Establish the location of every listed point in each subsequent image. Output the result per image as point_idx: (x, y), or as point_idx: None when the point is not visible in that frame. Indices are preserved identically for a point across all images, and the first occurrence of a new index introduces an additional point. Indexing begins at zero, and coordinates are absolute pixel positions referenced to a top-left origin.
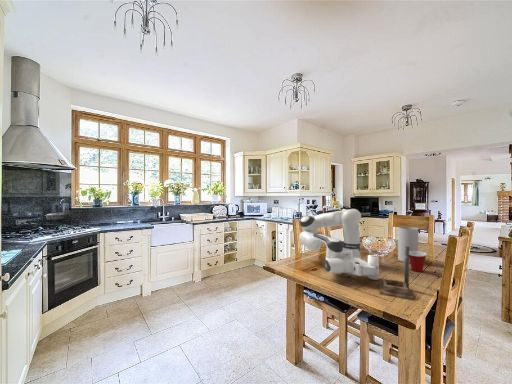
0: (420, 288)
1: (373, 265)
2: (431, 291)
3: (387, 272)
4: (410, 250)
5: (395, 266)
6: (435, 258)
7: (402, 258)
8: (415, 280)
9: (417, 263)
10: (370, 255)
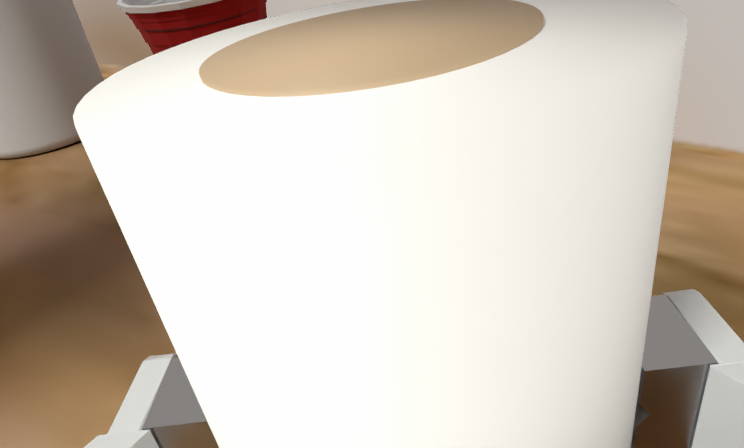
0: (678, 191)
1: (633, 405)
2: (719, 156)
3: None
4: (55, 28)
5: (91, 201)
6: (105, 71)
7: (32, 126)
8: None
9: None
10: (180, 86)
